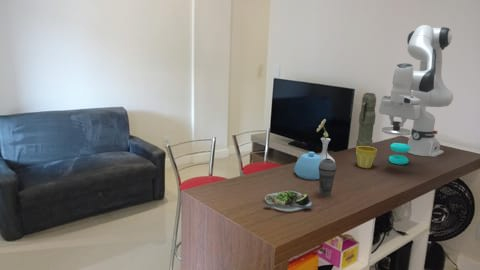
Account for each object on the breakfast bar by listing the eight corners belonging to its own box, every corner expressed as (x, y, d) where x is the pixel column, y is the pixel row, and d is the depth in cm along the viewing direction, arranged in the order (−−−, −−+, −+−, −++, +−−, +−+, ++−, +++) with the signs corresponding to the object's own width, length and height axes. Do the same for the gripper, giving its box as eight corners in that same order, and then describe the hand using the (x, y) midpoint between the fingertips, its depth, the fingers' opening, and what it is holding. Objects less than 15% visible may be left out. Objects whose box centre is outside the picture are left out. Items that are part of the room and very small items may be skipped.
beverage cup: (330, 199, 148) (334, 152, 143) (313, 195, 152) (317, 149, 147) (336, 193, 154) (340, 148, 149) (319, 189, 158) (323, 145, 153)
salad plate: (274, 218, 131) (274, 207, 130) (253, 199, 147) (254, 188, 146) (319, 210, 138) (320, 199, 137) (295, 193, 154) (295, 183, 153)
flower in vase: (318, 159, 200) (321, 114, 194) (338, 163, 193) (342, 117, 187) (307, 165, 189) (311, 118, 183) (328, 170, 183) (332, 121, 177)
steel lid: (392, 128, 188) (393, 118, 187) (415, 133, 178) (417, 123, 176) (376, 130, 181) (377, 120, 180) (399, 136, 171) (400, 125, 170)
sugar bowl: (288, 175, 175) (289, 152, 172) (305, 167, 186) (306, 146, 183) (315, 183, 165) (317, 159, 162) (331, 175, 176) (333, 152, 173)
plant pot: (372, 163, 195) (374, 146, 193) (377, 170, 185) (379, 151, 183) (352, 162, 196) (354, 145, 194) (356, 168, 186) (358, 150, 184)
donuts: (387, 144, 195) (394, 141, 203) (385, 162, 198) (391, 158, 205) (407, 148, 189) (413, 144, 196) (405, 166, 191) (410, 162, 199)
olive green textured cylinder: (351, 152, 215) (357, 93, 206) (360, 148, 223) (366, 91, 215) (366, 155, 209) (372, 95, 201) (374, 151, 217) (381, 93, 209)
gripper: (378, 95, 183) (375, 122, 186) (415, 101, 166) (411, 130, 169) (386, 94, 186) (383, 121, 189) (423, 100, 169) (419, 129, 172)
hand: (396, 125), depth 179 cm, fingers closed on steel lid, 3 cm apart
